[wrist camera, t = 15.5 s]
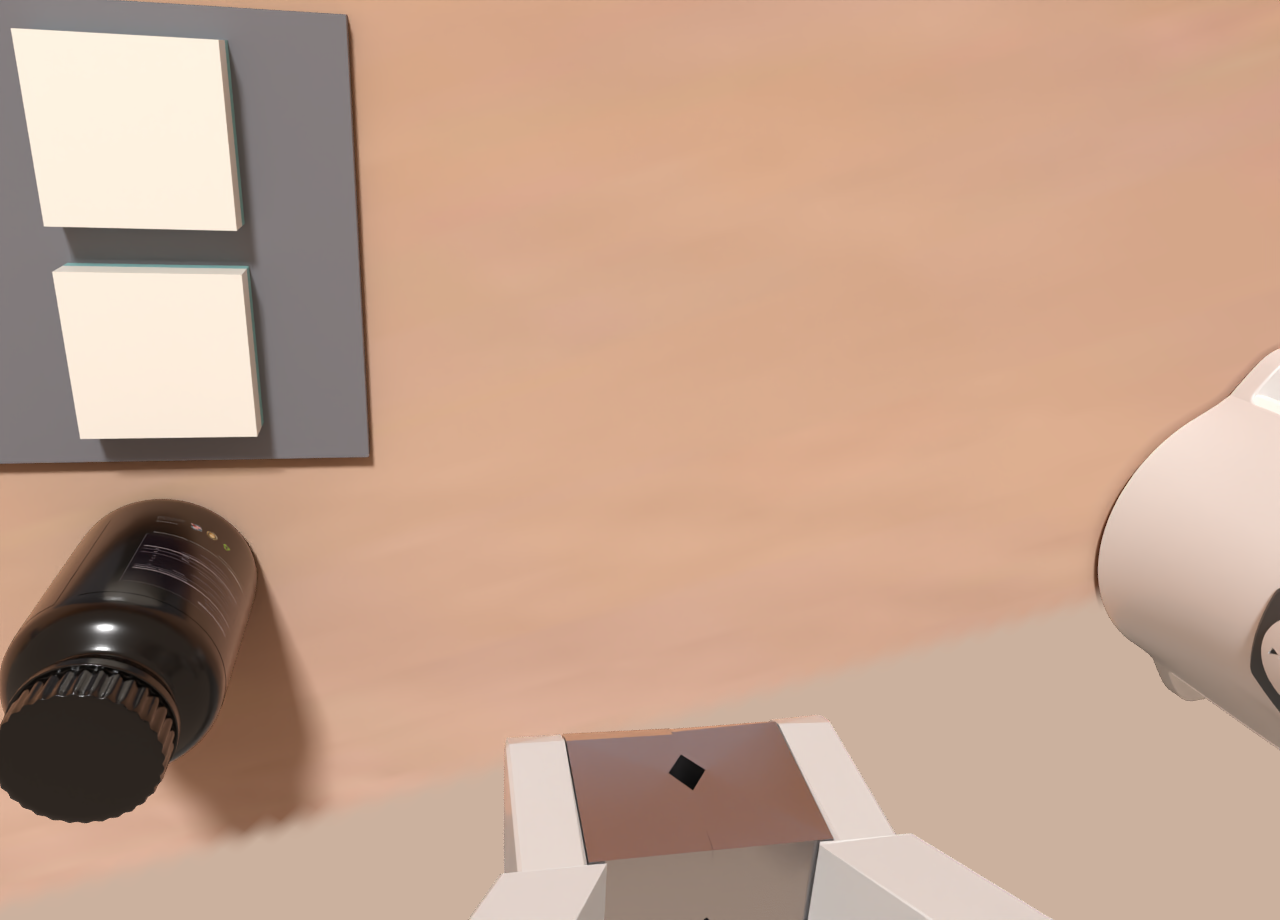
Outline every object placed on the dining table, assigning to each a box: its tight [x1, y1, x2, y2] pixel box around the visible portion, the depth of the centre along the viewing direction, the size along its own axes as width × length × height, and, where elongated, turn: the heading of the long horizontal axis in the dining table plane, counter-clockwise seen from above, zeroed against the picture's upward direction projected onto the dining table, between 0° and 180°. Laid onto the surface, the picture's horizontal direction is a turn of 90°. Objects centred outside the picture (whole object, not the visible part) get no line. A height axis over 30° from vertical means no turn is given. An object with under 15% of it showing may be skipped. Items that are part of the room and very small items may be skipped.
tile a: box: [52, 263, 264, 439], centre depth 36 cm, size 2×6×6 cm
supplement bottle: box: [0, 499, 257, 823], centre depth 35 cm, size 7×7×12 cm
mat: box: [0, 0, 370, 464], centre depth 35 cm, size 16×16×1 cm
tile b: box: [11, 28, 245, 231], centre depth 33 cm, size 2×6×6 cm
